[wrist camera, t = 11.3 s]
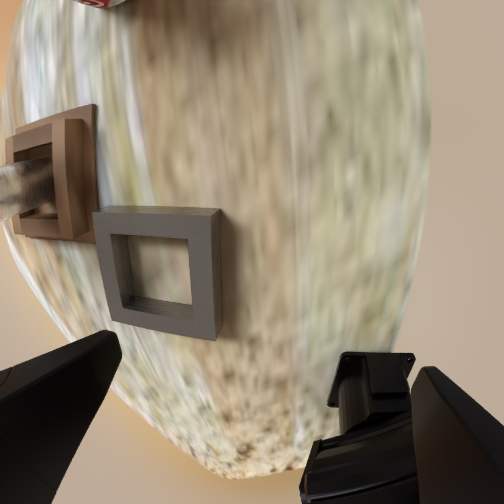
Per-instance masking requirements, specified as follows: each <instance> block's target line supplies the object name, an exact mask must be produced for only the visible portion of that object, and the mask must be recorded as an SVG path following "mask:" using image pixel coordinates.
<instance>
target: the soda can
mask: <svg viewBox="0 0 504 504" xmlns="http://www.w3.org/2000/svg"><path fill="white" fill-rule="evenodd" d="M74 1H77V2H80V3H82V4H85V5H89V6H93V7H96V8H109V7H112V6H115V5H118V4H120V3H122V2H124V1H126V0H74Z"/></svg>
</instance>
